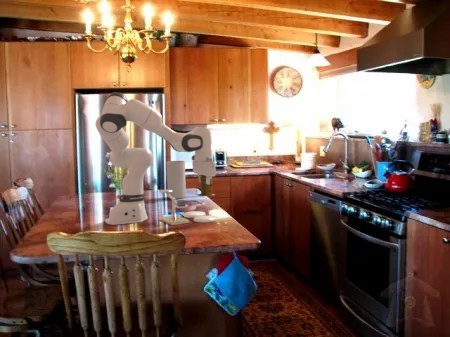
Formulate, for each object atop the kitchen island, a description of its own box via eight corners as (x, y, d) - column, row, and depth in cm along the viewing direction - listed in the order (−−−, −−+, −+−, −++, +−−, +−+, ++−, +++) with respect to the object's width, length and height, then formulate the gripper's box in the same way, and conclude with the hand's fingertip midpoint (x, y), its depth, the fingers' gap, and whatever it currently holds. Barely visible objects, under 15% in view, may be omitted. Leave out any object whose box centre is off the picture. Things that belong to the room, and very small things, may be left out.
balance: (175, 227, 230) (174, 196, 229) (156, 218, 253) (155, 190, 252) (193, 224, 235) (192, 194, 234) (173, 215, 258) (172, 188, 256)
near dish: (200, 223, 236) (200, 221, 236) (189, 219, 248) (189, 217, 248) (222, 220, 243) (222, 218, 243) (211, 216, 254) (210, 214, 254)
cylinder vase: (165, 197, 323) (164, 161, 320) (182, 195, 328) (181, 160, 326) (171, 199, 312) (169, 162, 309) (188, 198, 317) (187, 161, 314)
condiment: (215, 195, 243) (215, 172, 242) (201, 196, 239) (201, 173, 237) (208, 193, 249) (208, 171, 248) (194, 195, 245) (194, 172, 243)
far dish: (188, 218, 249) (188, 217, 249) (178, 214, 260) (178, 213, 260) (209, 215, 255) (209, 214, 255) (199, 212, 267) (199, 210, 267)
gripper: (218, 158, 234) (219, 185, 236) (200, 155, 252) (201, 180, 253) (207, 159, 231) (208, 186, 233) (190, 156, 249) (191, 182, 250)
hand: (204, 183), depth 243 cm, fingers closed on condiment, 6 cm apart
